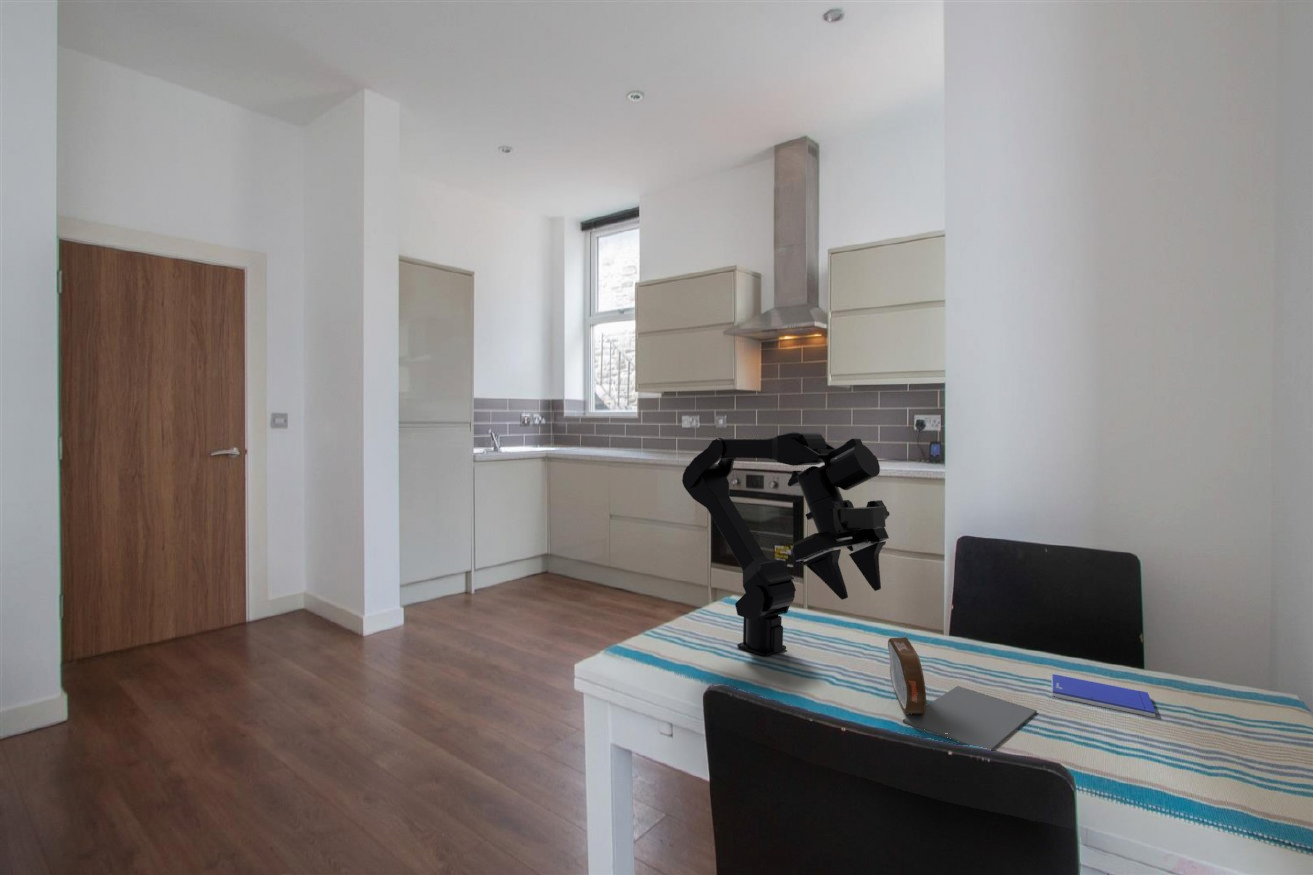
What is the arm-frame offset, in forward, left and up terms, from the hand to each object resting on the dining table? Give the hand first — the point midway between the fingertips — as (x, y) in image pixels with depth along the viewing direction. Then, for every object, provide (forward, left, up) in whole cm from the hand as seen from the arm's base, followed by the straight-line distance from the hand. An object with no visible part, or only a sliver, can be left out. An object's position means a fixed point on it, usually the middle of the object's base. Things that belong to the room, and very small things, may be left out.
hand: (861, 594), depth 98 cm
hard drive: (+26, +25, -15) cm, 39 cm away
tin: (+8, -1, -14) cm, 16 cm away
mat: (+16, +2, -14) cm, 22 cm away
